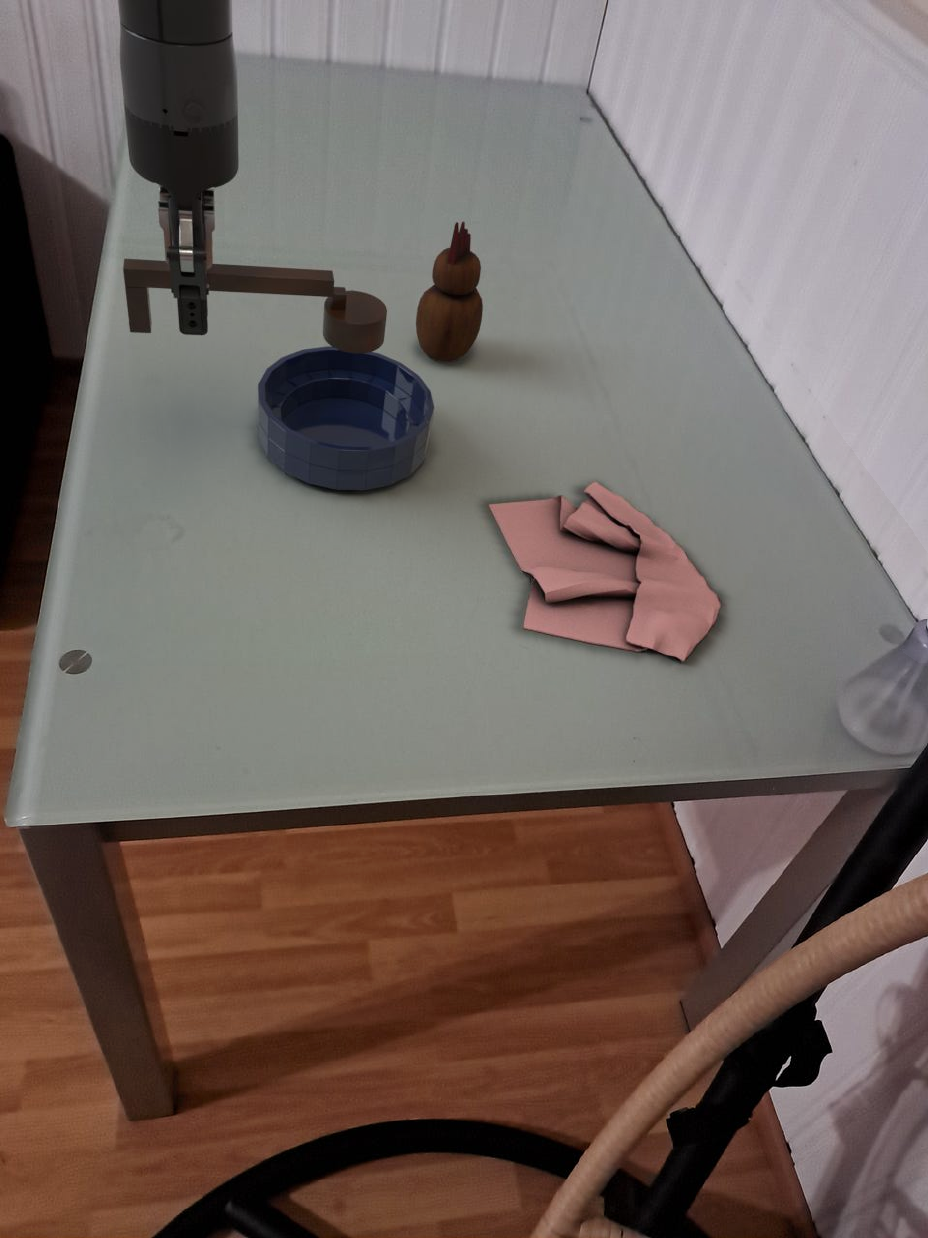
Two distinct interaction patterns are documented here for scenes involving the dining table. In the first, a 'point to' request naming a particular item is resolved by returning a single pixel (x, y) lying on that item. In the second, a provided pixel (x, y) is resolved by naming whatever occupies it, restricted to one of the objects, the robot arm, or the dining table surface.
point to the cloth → (607, 575)
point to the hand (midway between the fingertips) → (193, 324)
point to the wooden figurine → (451, 302)
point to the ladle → (347, 314)
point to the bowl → (344, 418)
